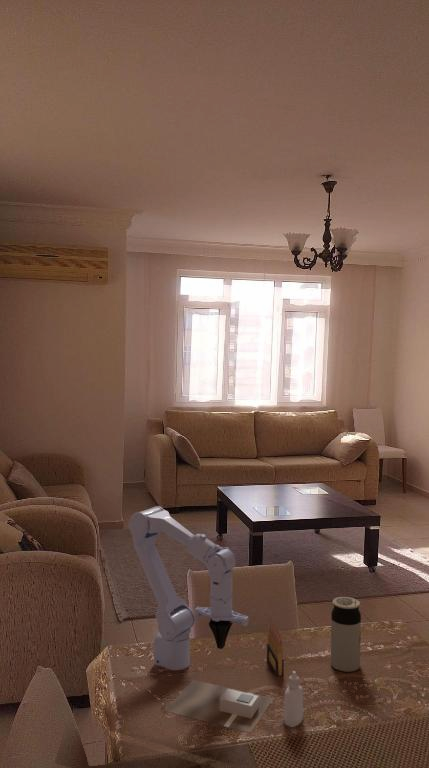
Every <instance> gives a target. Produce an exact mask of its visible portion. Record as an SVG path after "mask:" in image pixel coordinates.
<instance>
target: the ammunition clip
mask: <svg viewBox="0 0 429 768" xmlns="http://www.w3.org/2000/svg"><path fill="white" fill-rule="evenodd" d="M267 634H268V635H267V643H266V662H267V663H269V664H268V666H269V665H270V666H269V667H270V670H271V671H272V673H273V674H276V676H285V675H284V672H285V671H284V668H285V664H284V661H285V660H284V658H283V657H284V656H283V653H284V651H283V650H284V648H283V638H282V635H281V633H280V631H279V630H278V628H277V627H276V625H275V624H274V622H273V620H272V619H270V621H269V624H268V633H267Z"/></svg>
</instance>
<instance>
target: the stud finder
mask: <svg viewBox="0 0 429 768" xmlns="http://www.w3.org/2000/svg"><path fill="white" fill-rule="evenodd" d="M231 689H232V688H231ZM231 689H227V690H226V692H225V693H224V694H223V695H222V697H221V698H220V711H223V712H227V713H231V714H235V715H239V716H243V717H247V718H252V717H253V715H254V714H255V712H256V711H257V709H258V708H259V696H257V695H258V694H257V695H253V694H254V693H252V694H249V693H250V692H248V693H244V692H245V691H244V692H240V691H241V690H240V691H236V690H237V689H235V690H231Z"/></svg>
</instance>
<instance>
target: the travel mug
mask: <svg viewBox="0 0 429 768" xmlns="http://www.w3.org/2000/svg"><path fill="white" fill-rule="evenodd" d="M332 604H333V608H332V610H331V612H330V616H331V617H330V619H331V620H330V621H331V622H330V625H331V626H330V627H331V628H330V666H332V667H333V668H334V669H336V670H338V671H340V672H347V673H349V672H355V671H357V670H359V669H360V667H361V639H362V638H361V635H362V631H361V629H362V614H361V612H360V610H359V609H360V606H361V602H360V601H359V600H358V599H356V598H353V597H348V596H339V597H335V598H334V599H333V600H332Z"/></svg>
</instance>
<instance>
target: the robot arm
mask: <svg viewBox="0 0 429 768" xmlns="http://www.w3.org/2000/svg"><path fill="white" fill-rule="evenodd" d="M127 527H128V529H129V531H130V532H129V533H130V534H131V536H132V544H133V548H134V550H135V552H136V554H137V556H138V559H139V561H140V564H141V566H142V568H143V571H144V573H145V576H146V578H147V580H148V582H149V585H150V588H151V590H152V592H153V593H152V594H153V595H154V597H155V600H156V602H157V604H158V607H157V610H156V611H155V612H156V613H155V615H154V616H155V619H156V621H157V631H158V633H157V634H156V636H155V638H154V642H153V667H156V666H158V667H159V666H160V667H162V668H165V669H167V670H171V671H181V670H184V669H186V668H188V667H189V666H190V663H191V660H190V659H191V658H190V656H191V655H190V654H191V651H190V649H191V647H190V646H191V644H190V642H191V633H192V629H191V628H193V627H194V625H195V622H196V617H198V618H199V617H202V618H209V619H210V620H209V621H208V628H210V630H211V632H212V634H213V636H214V640H215V644H216V649H220V650H223V649H224V648H225V646H226V641H227V638H228V634H229V632H230V629H231V628H232V626H233V624H238V625H241V626H243V627H246V626H247V625H248V624H249V616H248V615H244V614H241V613H239V612H236V611H234V610H233V579H234V578H233V577H234V575H233V569H234V568H235V567H236V565H237V562H238V559H237V555H236V553H235V552H234V551H233V550H232V549H231V548H230V547H226V546H225V547H222V546H220V545H219V544H216V543H215V542H213V541H211V540H210V539H209V538H207V535H206V534H204V533H202V534H201V533H196V534H193V533H192V532H191V531H190V530H188V529H187V528H186V527H184V526H183V525H182V524H181V523H179V522H178V521H177V520H175V519H174V518H173V517H172V516H171V515H170V513H169V511H168V510H166V509H164V508H163V507H162V506H159V505H156V506H153V507H151V508H148V509H145V510H142V511H137V512H134V513H133V514H132V515H131V517H130V519H129V522H128V524H127ZM160 533H164V534H166V535H168V536H169V537H171V538H172V539H174V540H176V541H177V542H180V543H181V544H183V545H185V546H186V550H187V552H188V553H189V554H190V555H191V556H193V557H194V558H195V559H197V560H198V561H200V562H201V563H203V564H205V566H206V569H207V571H208V574H209V579H210V597H209V599H210V600H209V601H210V603H209V604H210V607H208V606H207V607H205V606H204V607H203V606H197V607H196V608H194V611H193V610H192V609H191V608H190V607H189V606H188V604H187V601H186V600H185V599H183V598H181V597H179V596H178V595H177V593H176V591H175V589H174V586H173V583H172V582H171V579H170V576H169V574H168V573H167V572H168V571H167V569H166V567H165V565H164V562H163V560H162V558H161V556H160V554H159V551H158V549H157V547H156V544H155V543H156V540H157V538H158V536H159V534H160Z"/></svg>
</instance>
